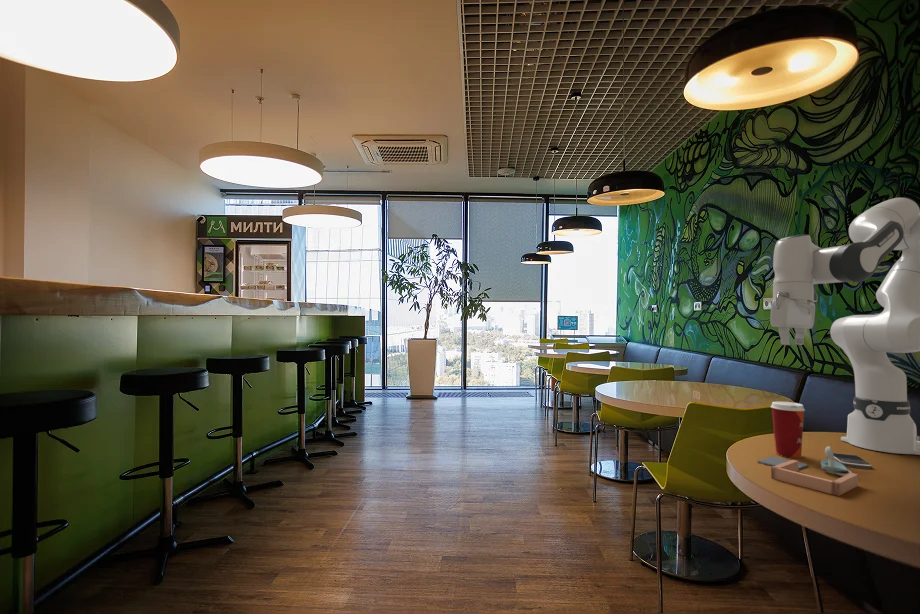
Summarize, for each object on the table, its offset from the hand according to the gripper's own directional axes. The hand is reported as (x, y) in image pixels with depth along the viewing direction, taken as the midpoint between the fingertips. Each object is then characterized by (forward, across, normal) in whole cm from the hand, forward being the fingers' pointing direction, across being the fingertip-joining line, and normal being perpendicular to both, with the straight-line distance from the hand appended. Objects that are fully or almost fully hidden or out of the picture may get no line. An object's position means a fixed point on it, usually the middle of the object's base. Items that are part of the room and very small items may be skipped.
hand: (792, 344), depth 121 cm
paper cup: (+30, +2, +1) cm, 30 cm away
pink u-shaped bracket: (+30, -18, -10) cm, 37 cm away
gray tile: (+30, -10, -1) cm, 32 cm away
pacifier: (+30, -6, -11) cm, 33 cm away
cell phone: (+31, +8, -10) cm, 33 cm away
